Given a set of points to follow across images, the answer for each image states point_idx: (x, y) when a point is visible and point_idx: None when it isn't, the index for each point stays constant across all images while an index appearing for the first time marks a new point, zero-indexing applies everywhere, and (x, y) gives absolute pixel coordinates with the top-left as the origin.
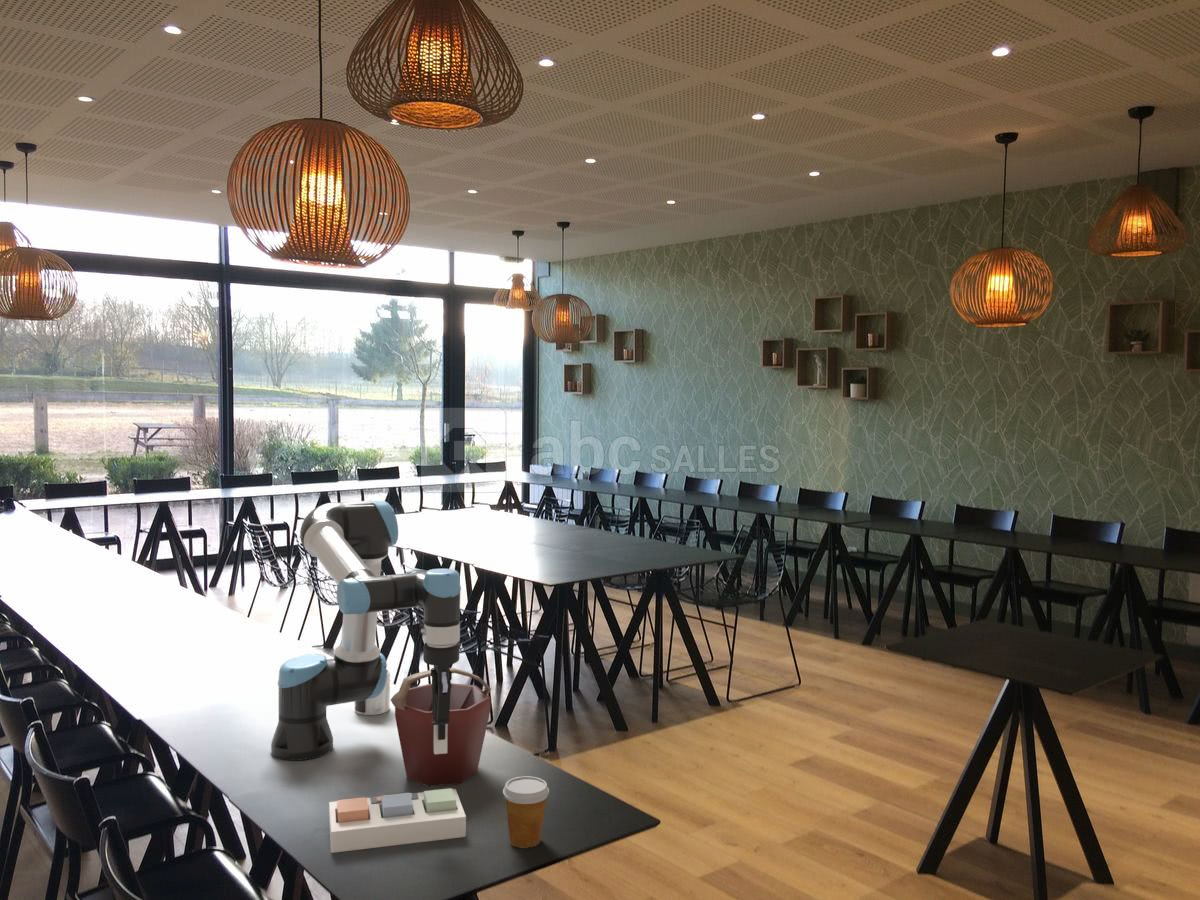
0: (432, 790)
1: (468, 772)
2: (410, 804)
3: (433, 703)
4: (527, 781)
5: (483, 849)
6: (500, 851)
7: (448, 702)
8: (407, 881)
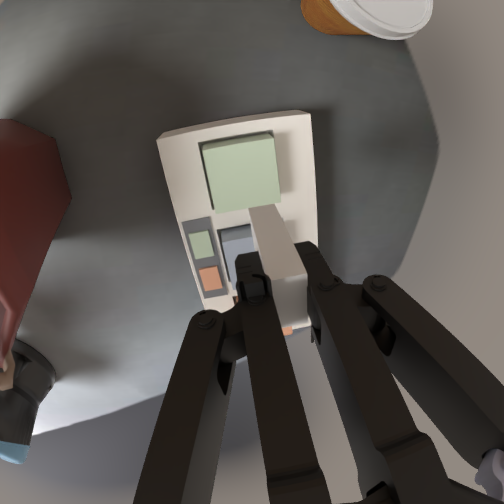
0: (213, 195)
1: (30, 131)
2: None
3: (228, 402)
4: None
5: (348, 83)
6: (359, 57)
7: (477, 368)
8: (407, 204)
